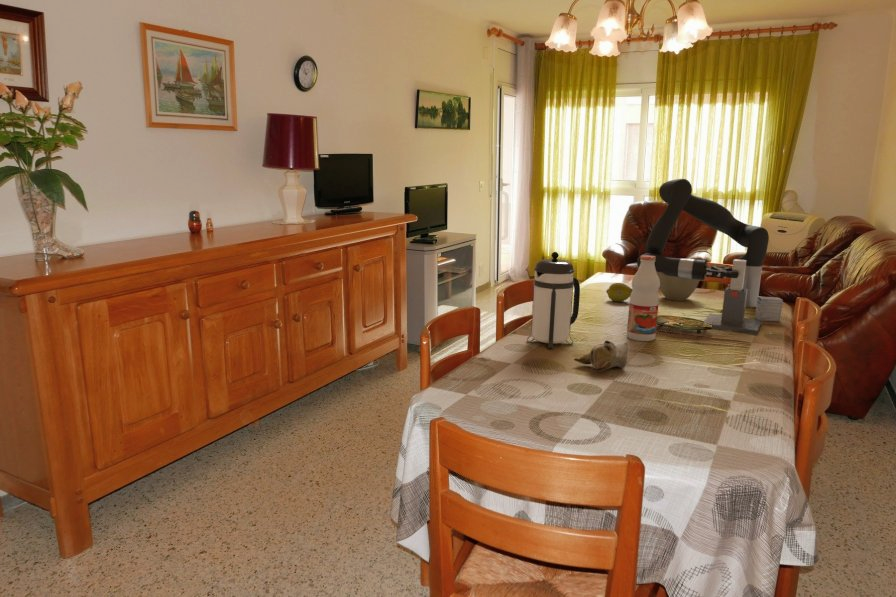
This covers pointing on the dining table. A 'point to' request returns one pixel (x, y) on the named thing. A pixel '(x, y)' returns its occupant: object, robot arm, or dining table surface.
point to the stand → (734, 314)
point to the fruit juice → (644, 301)
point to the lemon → (619, 292)
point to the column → (738, 282)
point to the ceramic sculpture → (606, 356)
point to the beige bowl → (676, 287)
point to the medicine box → (768, 308)
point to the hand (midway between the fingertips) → (739, 273)
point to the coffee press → (554, 301)
